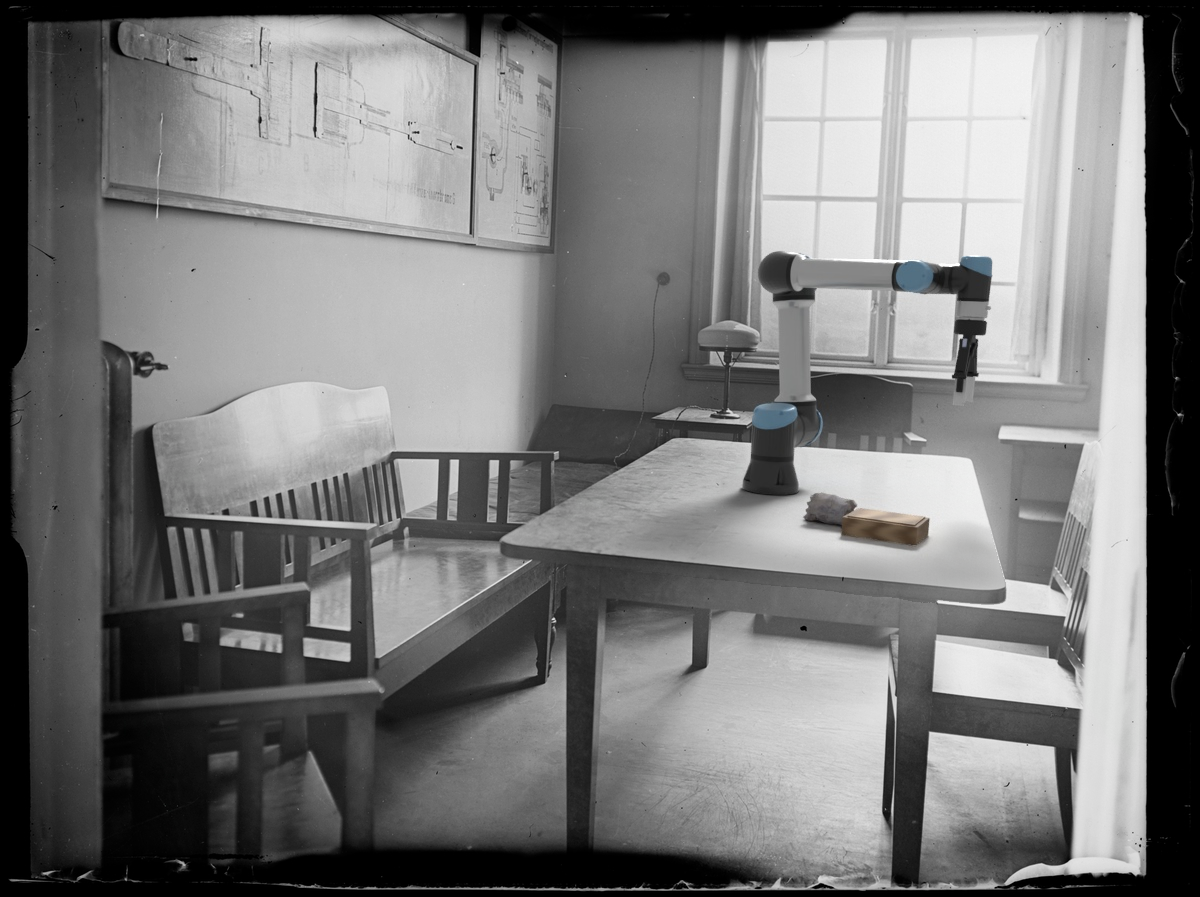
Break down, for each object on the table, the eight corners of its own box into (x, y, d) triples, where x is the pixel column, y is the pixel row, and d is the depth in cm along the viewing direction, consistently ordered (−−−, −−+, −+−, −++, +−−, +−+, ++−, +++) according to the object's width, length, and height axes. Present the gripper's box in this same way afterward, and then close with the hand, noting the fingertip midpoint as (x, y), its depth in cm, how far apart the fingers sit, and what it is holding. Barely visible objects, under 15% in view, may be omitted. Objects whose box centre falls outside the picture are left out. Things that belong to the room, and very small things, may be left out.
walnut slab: (841, 534, 211) (842, 515, 210) (856, 525, 221) (858, 507, 220) (915, 545, 203) (917, 526, 202) (928, 535, 213) (929, 516, 212)
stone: (849, 529, 217) (851, 499, 216) (799, 521, 223) (801, 492, 222) (860, 524, 223) (863, 495, 222) (812, 516, 230) (814, 488, 229)
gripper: (979, 319, 226) (970, 408, 230) (993, 320, 248) (985, 401, 251) (946, 318, 230) (938, 405, 233) (963, 318, 252) (955, 399, 255)
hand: (962, 403), depth 242 cm, fingers open, 13 cm apart
